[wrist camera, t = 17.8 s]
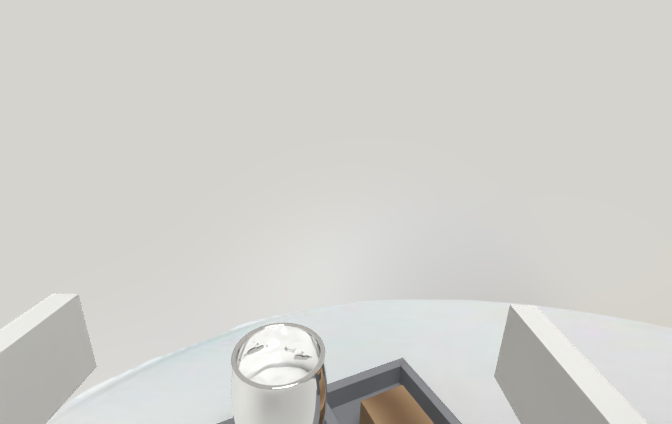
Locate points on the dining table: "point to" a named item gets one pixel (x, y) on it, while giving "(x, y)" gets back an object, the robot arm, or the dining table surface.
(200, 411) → the dining table surface
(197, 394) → the dining table surface
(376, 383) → the tray
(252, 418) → the beer glass
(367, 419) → the walnut block
